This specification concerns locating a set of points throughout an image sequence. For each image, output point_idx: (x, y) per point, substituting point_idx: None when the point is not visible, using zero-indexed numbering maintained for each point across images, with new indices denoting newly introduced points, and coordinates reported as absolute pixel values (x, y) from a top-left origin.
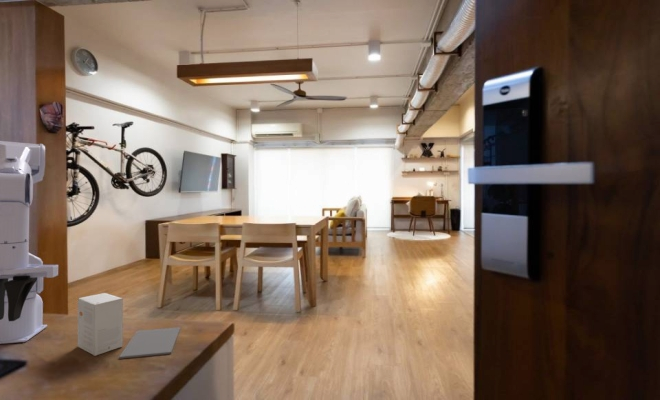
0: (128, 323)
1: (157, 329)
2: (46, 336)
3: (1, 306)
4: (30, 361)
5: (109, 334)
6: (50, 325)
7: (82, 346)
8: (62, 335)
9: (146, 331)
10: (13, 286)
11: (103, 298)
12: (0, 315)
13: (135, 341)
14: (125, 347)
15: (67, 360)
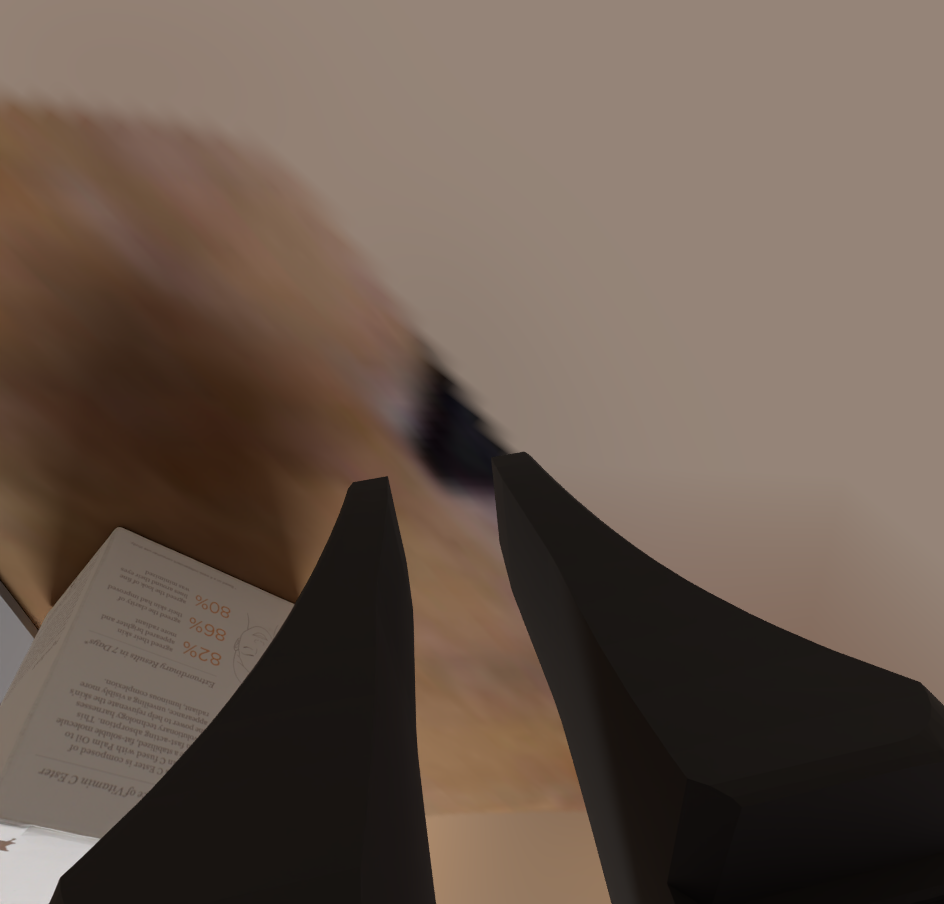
0: None
1: None
2: (515, 674)
3: (531, 616)
4: (418, 480)
5: (42, 643)
6: (563, 745)
7: (248, 594)
8: (454, 685)
9: None
10: (191, 862)
11: None
12: (506, 539)
13: (8, 653)
14: (2, 597)
15: (236, 487)
